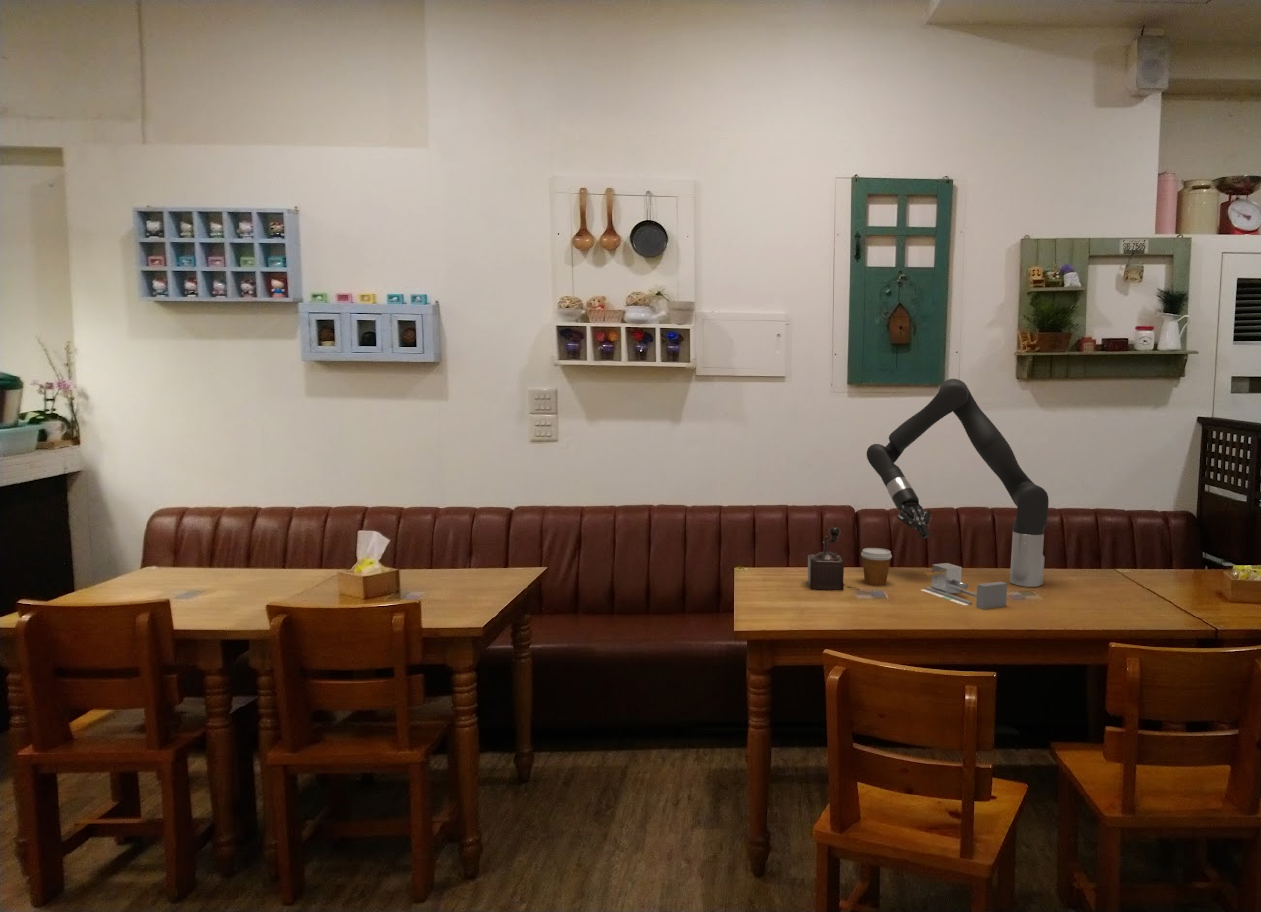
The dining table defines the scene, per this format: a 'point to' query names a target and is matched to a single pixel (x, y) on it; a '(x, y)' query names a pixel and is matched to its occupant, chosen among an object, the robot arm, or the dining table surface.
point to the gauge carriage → (947, 578)
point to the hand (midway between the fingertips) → (926, 536)
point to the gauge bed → (979, 595)
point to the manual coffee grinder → (826, 567)
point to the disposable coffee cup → (876, 565)
